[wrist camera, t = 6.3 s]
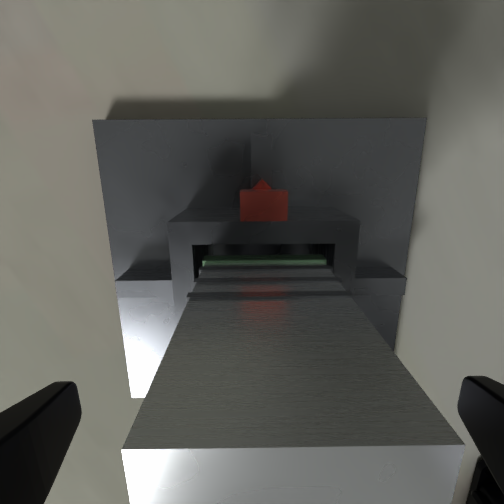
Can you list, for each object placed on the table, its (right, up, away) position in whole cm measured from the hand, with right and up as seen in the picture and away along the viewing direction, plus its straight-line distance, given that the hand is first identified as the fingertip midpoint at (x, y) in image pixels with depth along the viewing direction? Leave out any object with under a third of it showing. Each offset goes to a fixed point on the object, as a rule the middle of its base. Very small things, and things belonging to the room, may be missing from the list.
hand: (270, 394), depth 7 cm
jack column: (0, +1, +5) cm, 5 cm away
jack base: (0, +2, +8) cm, 9 cm away
